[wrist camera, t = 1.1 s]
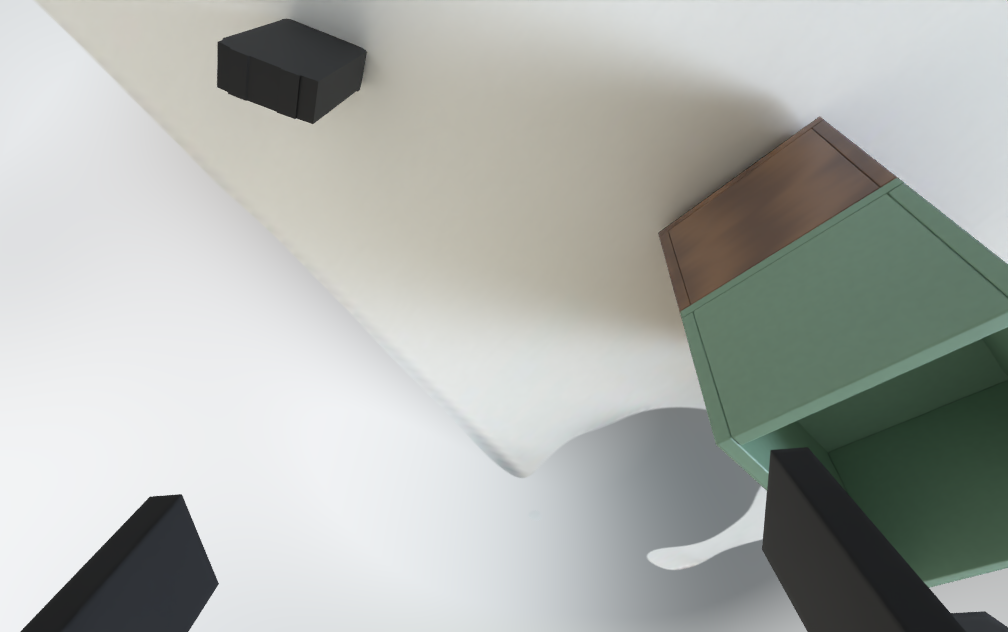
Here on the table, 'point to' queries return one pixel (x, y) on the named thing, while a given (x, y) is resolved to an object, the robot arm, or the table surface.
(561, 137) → the table surface
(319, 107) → the ink cartridge
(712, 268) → the bottom basket
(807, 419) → the box
